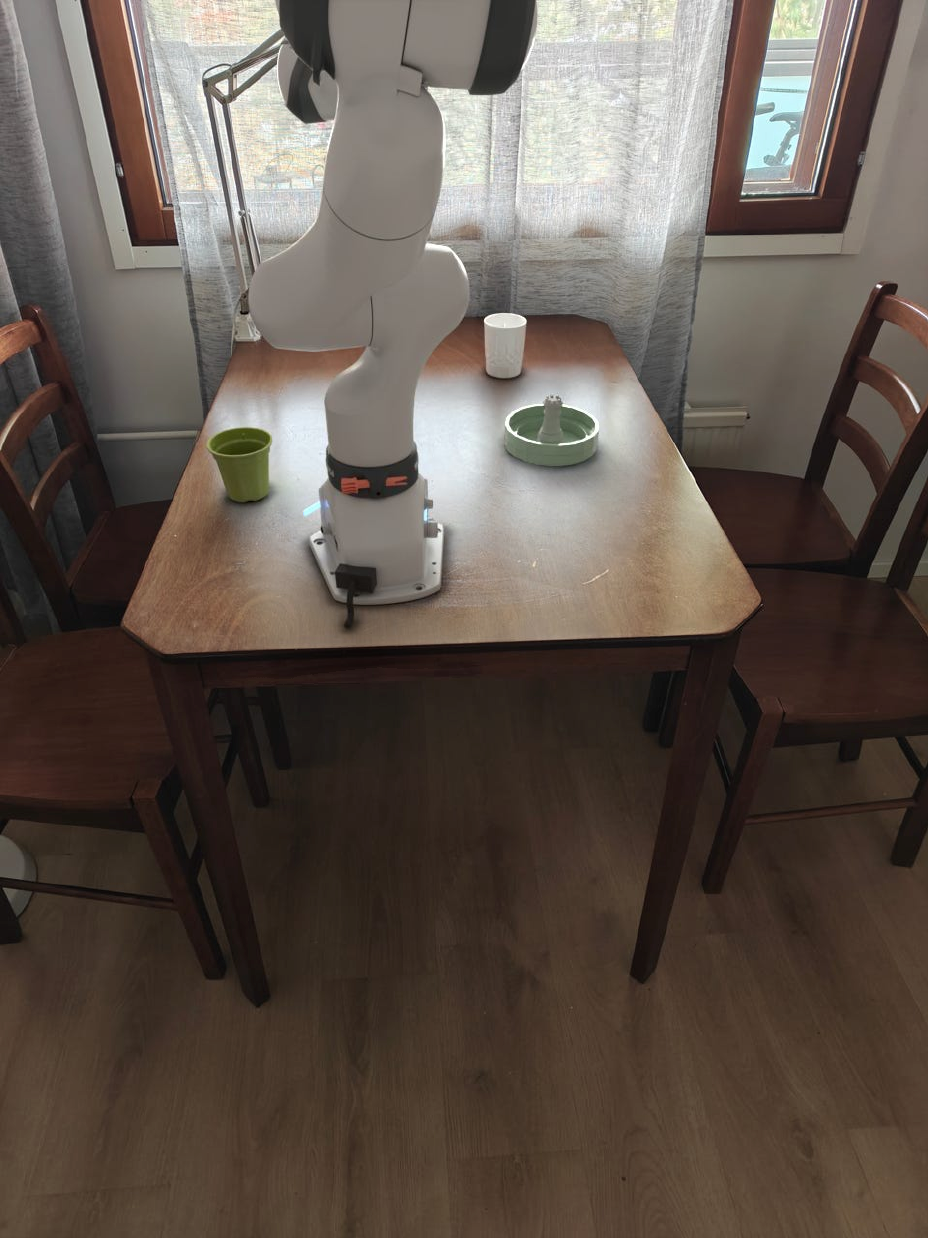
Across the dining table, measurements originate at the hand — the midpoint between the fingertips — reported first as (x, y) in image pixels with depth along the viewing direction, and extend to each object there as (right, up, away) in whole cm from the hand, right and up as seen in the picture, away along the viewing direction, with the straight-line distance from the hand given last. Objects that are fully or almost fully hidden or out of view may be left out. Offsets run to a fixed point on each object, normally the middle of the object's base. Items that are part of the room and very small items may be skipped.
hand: (384, 240), depth 129 cm
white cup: (+19, -8, +41) cm, 46 cm away
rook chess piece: (+26, -27, +16) cm, 40 cm away
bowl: (+26, -27, +16) cm, 41 cm away
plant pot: (-21, -37, +4) cm, 43 cm away
